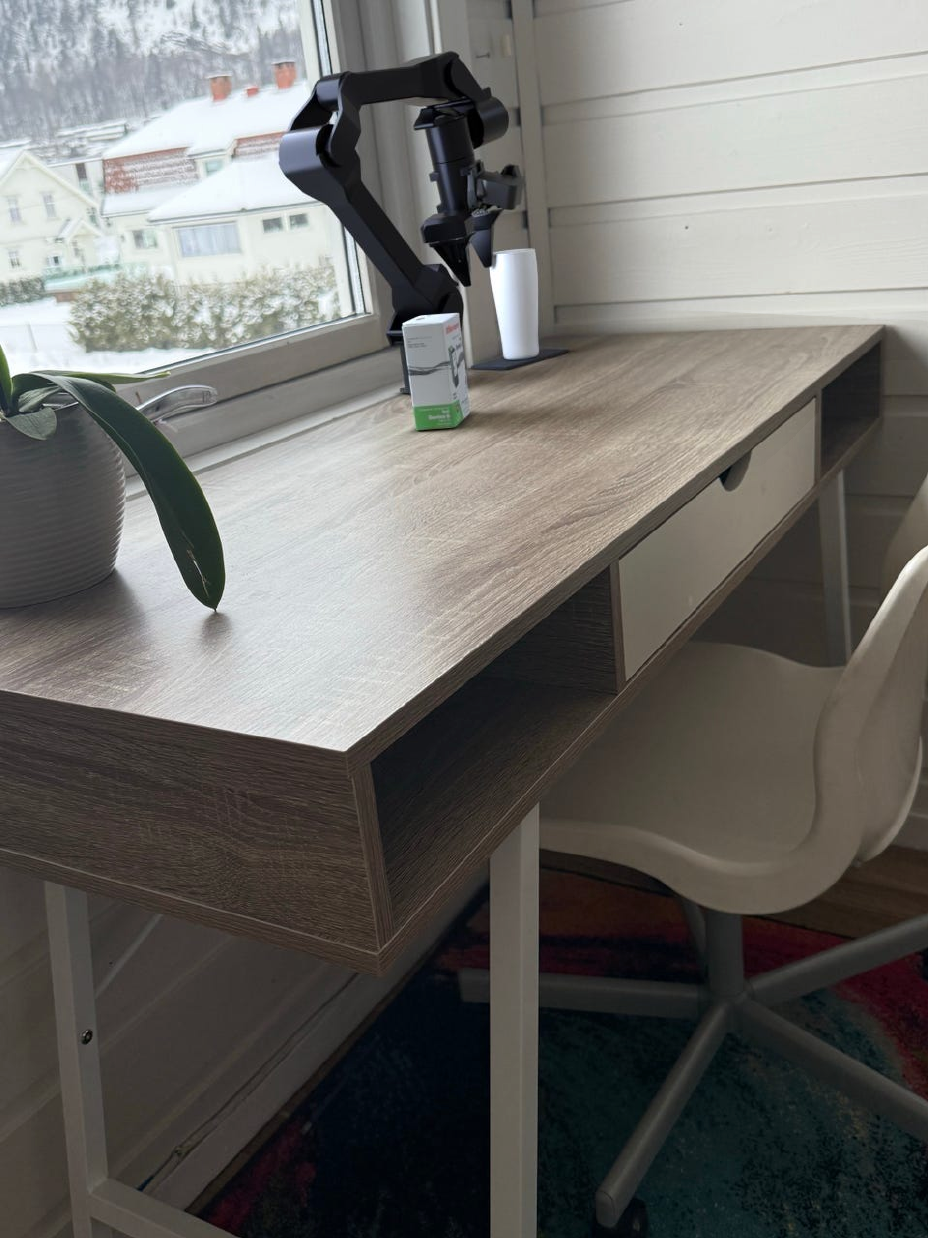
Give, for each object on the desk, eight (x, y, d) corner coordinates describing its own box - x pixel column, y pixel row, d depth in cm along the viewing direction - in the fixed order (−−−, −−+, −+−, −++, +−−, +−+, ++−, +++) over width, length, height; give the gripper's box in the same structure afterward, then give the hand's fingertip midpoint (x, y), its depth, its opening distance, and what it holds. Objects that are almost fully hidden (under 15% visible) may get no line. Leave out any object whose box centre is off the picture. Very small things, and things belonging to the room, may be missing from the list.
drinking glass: (523, 362, 164) (513, 252, 159) (489, 361, 168) (478, 254, 163) (553, 353, 168) (545, 247, 163) (519, 352, 173) (509, 249, 168)
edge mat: (506, 369, 162) (506, 367, 162) (471, 368, 167) (470, 365, 167) (569, 351, 171) (569, 349, 171) (534, 351, 176) (533, 348, 176)
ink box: (456, 428, 128) (443, 320, 124) (413, 431, 129) (399, 324, 125) (472, 412, 136) (460, 310, 131) (431, 415, 137) (418, 314, 133)
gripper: (488, 162, 140) (514, 288, 148) (530, 133, 155) (551, 249, 162) (406, 177, 144) (435, 299, 152) (454, 148, 159) (478, 260, 167)
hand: (478, 276), depth 158 cm, fingers open, 9 cm apart
